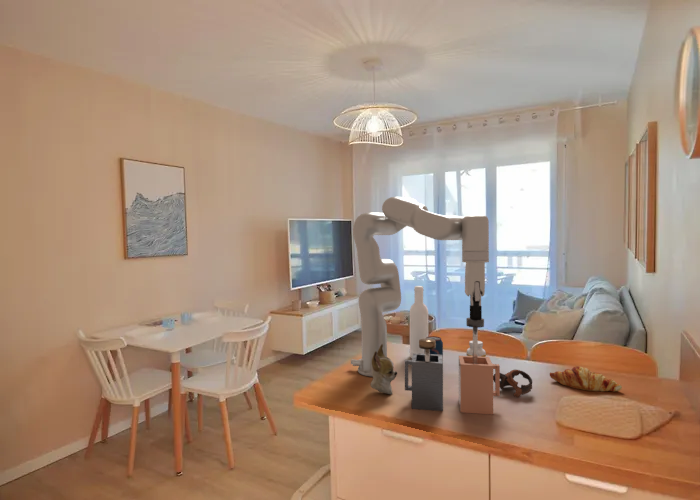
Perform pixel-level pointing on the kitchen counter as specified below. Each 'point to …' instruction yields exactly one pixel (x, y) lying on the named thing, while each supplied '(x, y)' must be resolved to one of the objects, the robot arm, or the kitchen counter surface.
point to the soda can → (437, 346)
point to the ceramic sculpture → (382, 372)
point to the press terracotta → (477, 385)
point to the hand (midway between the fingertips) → (475, 318)
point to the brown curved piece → (509, 381)
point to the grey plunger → (475, 335)
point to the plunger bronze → (427, 347)
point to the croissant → (585, 380)
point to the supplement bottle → (480, 351)
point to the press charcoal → (426, 382)
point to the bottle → (418, 322)
